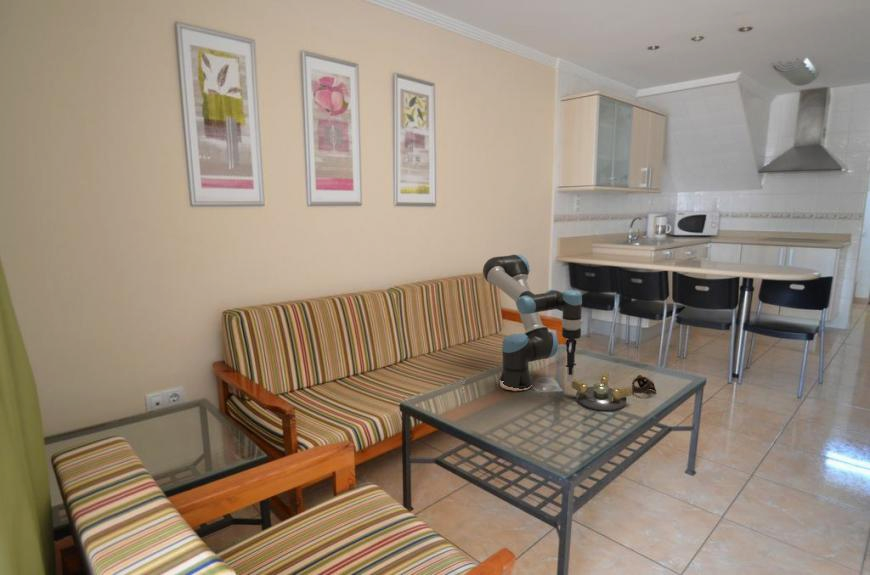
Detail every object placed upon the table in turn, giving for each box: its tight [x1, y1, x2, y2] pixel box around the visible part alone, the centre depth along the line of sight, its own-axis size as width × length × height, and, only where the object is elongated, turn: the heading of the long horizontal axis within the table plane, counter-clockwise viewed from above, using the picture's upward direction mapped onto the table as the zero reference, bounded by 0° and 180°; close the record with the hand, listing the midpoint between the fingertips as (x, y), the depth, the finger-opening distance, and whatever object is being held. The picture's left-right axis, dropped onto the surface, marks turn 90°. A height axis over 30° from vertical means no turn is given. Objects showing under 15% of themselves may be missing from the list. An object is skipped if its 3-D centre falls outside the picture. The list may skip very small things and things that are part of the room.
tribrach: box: [575, 382, 627, 412], centre depth 199 cm, size 20×20×7 cm
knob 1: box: [571, 378, 588, 397], centre depth 201 cm, size 8×3×5 cm, turn 20°
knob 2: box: [600, 371, 610, 386], centre depth 208 cm, size 8×3×5 cm, turn 151°
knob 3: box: [612, 385, 632, 403], centre depth 193 cm, size 8×3×5 cm, turn 109°
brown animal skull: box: [631, 374, 657, 394], centre depth 206 cm, size 12×10×8 cm
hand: (570, 380), depth 202 cm, fingers closed
